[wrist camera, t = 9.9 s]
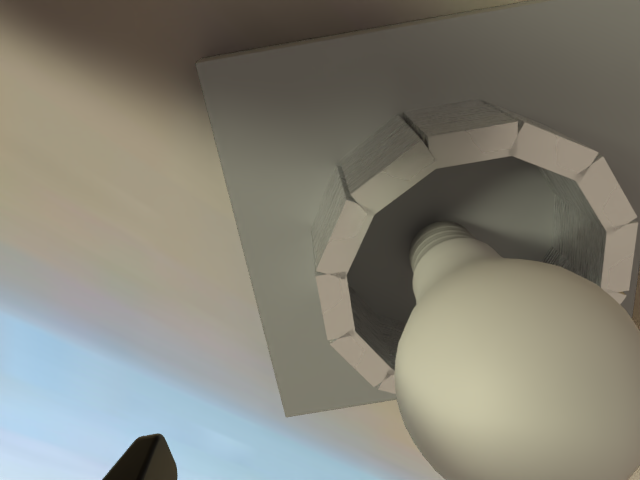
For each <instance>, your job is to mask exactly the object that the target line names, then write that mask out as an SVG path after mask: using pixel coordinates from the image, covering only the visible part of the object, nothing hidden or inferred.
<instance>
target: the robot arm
mask: <svg viewBox="0 0 640 480" xmlns="http://www.w3.org/2000/svg"><path fill="white" fill-rule="evenodd" d="M102 480H177V467H176V463H175V461H174V459H173V456H172V454H171V452H170V449H169V447H168V445H167V442H166V440H165V438H164V436H163V435H161V434H152V435H147V436H141V437H139V438H137V439H136V440H135V441H134V442H133V443H132V445H131V446H130V447H129V448H128V449H127V451H126V452H125V453H124V454H123V455H122V457H121V458H120V459H119V460H118V461H117V463H116V464H115V465H114V466H113V467H112V469H111V470H110V471H109V472H108V473H107V475H106V476H105V477H104V478H103V479H102Z"/></svg>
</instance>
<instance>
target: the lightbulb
mask: <svg viewBox="0 0 640 480" xmlns="http://www.w3.org/2000/svg"><path fill="white" fill-rule="evenodd" d="M409 259H410V264H411V268H412V271H413V274H414V275H413V291H414V295H415V298H416V306H415V307H414V309H413V310H412V312H411V315H410V317H409V319H408V321H407V324H406V326H405V328H404V331H403V333H402V336H401V338H400V340H399V343H398V348H397V354H396V360H395V377H394V378H395V391H396V398H397V402H398V406H399V409H400V413H401V415H402V418H403V421H404V424H405V427H406V429H407V430H408V432H409V434H410V436H411V438H412V440H413V441H414V443H415V445H416V446H417V447H418V449H419V450H420V452H421V453H422V455H423V456H424V457H425V459H426V460H427V461H428V462H429V463H430V465H431V466H432V467H433V468H434V470H435V471H436V472H438V473H439V474H440V475H441V476H442V477H443V478H444V479H446V480H628V479H629V478H630V477H631V476H632V474H633V473H634V472H635V471H636V470H637V468H638V467H639V466H640V330H639V329H638V327H637V326H636V324H635V323H634V321H633V320H632V318H631V317H630V316H629V314H628V313H627V311H626V310H625V309H624V308H623V307H622V306H621V305H620V304H619V303H618V302H617V301H616V300H615V299H614V298H612V297H611V296H610V295H609V294H608V293H606V292H605V291H604V290H603V289H602V288H600V287H599V286H598V285H597V284H595V283H593V282H591V281H589V280H587V279H585V278H583V277H581V276H579V275H577V274H575V273H573V272H571V271H569V270H567V269H564V268H562V267H560V266H556V265H552V264H548V263H544V262H539V261H532V260H524V259H510V258H503V257H501V256H500V255H499V254H498V253H497V252H496V251H495V250H494V249H493V248H491V247H490V246H489V245H488V244H486V243H483V242H481V241H479V240H477V239H476V238H475V237H474V236H473V235H472V234H471V233H470V232H469V231H468V230H467V229H466V228H464V227H463V226H462V225H460V224H458V223H455V222H451V221H440V222H435V223H432V224H430V225H428V226H426V227H424V228H423V229H422V230H420V231H419V232H418V233H417V234H416V236H415V237H414V239H413V240H412V242H411V245H410V248H409Z"/></svg>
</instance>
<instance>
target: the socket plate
mask: <svg viewBox="0 0 640 480" xmlns="http://www.w3.org/2000/svg"><path fill="white" fill-rule="evenodd" d="M195 65H196V69H197V73H198V76H199V80H200V84H201V88H202V92H203V96H204V100H205V104H206V108H207V112H208V115H209V119H210V123H211V127H212V131H213V135H214V139H215V143H216V147H217V151H218V154H219V158H220V162H221V166H222V170H223V174H224V178H225V182H226V186H227V190H228V193H229V197H230V201H231V205H232V209H233V213H234V217H235V221H236V225H237V229H238V232H239V236H240V240H241V244H242V248H243V252H244V256H245V260H246V264H247V268H248V271H249V275H250V279H251V283H252V287H253V291H254V295H255V299H256V303H257V306H258V310H259V314H260V318H261V322H262V326H263V330H264V334H265V338H266V342H267V345H268V349H269V353H270V357H271V361H272V365H273V369H274V373H275V377H276V381H277V384H278V388H279V392H280V396H281V400H282V404H283V408H284V412H285V416H286V417H291V416H297V415H304V414H310V413H316V412H322V411H328V410H334V409H341V408H347V407H353V406H359V405H365V404H372V403H378V402H384V401H390V400H396V399H397V398H396V394H393V393H389V392H386V391H382V390H378V387H377V385H376V386H375V387H373V386H372V385H371V384H370V383H369V382H368V381H367V380H366V379H365V378H364V377H363V376H362V375H361V374H360V373H359V372H358V371H357V370H356V369H355V368H353V367H352V366H351V365H350V364H349V363H348V362H347V361H346V360H345V359H344V358H343V357H342V356H341V355H340V354H339V353H338V352H337V351H336V350H335V349H334V348H333V347H332V346H331V345H330V342H329V340H327V335H326V330H325V325H324V319H323V314H322V309H321V303H320V298H319V293H318V288H317V282H316V277H315V267H314V257H313V247H312V236H311V231H312V224H313V221H314V219H315V216H316V214H317V211H318V209H319V206H320V204H321V202H322V199H323V197H324V194H325V192H326V189H327V187H328V184H329V182H330V179H331V177H332V175H333V172H334V170H335V167H336V165H338V166H341V162H340V160H341V159H342V158H343V157H345V156H346V155H347V154H348V153H350V152H351V151H352V150H354V149H355V148H356V147H357V146H359V145H360V144H361V143H362V142H364V141H365V140H366V139H367V138H369V137H370V136H371V135H372V134H374V133H375V132H376V131H377V130H379V129H380V128H381V127H382V126H384V125H385V124H386V123H388V122H389V121H390V120H391V119H393V118H394V117H395V116H396V115H399V116H400V117H401V118H402V119H403V120H404V114H403V112H405V111H411V110H417V109H422V108H428V107H434V106H440V105H446V104H451V103H457V102H463V101H469V100H475V99H478V100H479V101H481V102H482V100H484V101H487V102H489V103H492V104H494V105H497V106H499V107H502V108H504V109H506V110H509V111H511V112H514V113H516V114H519V115H521V116H523V117H526V118H528V119H531V120H533V121H536V122H538V123H541V124H543V125H545V126H547V127H549V128H551V129H553V130H555V131H557V132H559V133H561V134H563V135H565V136H567V137H569V138H571V139H573V140H575V141H577V142H579V143H581V144H583V145H585V146H587V147H589V148H591V149H593V150H595V151H597V152H599V153H598V154H600V155H602V156H603V157H604V159H605V160H606V162H607V164H608V166H609V167H610V169H611V171H612V173H613V175H614V176H615V178H616V180H617V182H618V183H619V185H620V187H621V189H622V191H623V192H624V194H625V196H626V198H627V199H628V201H629V203H630V205H631V207H632V208H633V210H634V212H635V214H636V215H637V218H635V219H634V220H635V221H637V222H638V228H637V235H636V243H635V250H634V258H633V265H632V272H631V280H630V287H629V291H623V293H624V294H626V295H627V296H626V297H625V299H624V300H623V301H622V303H621V304H620V305H621V306H622V307H623V308H624V309H625V310H626V311H627V313H628V314H629V316H630V317H631V318H632V315H633V308H634V301H635V294H636V287H637V280H638V273H639V266H640V0H530V1H525V2H519V3H513V4H508V5H502V6H496V7H491V8H485V9H479V10H474V11H468V12H462V13H457V14H451V15H445V16H439V17H434V18H428V19H422V20H417V21H411V22H405V23H400V24H394V25H388V26H383V27H377V28H371V29H366V30H360V31H354V32H348V33H343V34H337V35H331V36H326V37H320V38H314V39H309V40H303V41H297V42H292V43H286V44H280V45H275V46H269V47H263V48H257V49H252V50H246V51H240V52H235V53H229V54H223V55H218V56H212V57H206V58H202V59H200V60H199V61H198V62H196V63H195ZM341 167H342V166H341ZM554 201H555V193H554V191H553V190H552V188H551V187H550V185H549V184H548V182H547V180H546V179H545V177H544V176H543V174H542V172H541V171H540V169H539V168H538V166H537V165H534V164H532V163H529V162H526V161H524V160H521V159H519V158H516V157H514V156H508V157H502V158H496V159H491V160H485V161H479V162H473V163H467V164H461V165H455V166H449V167H444V168H438V169H435V170H434V171H432V172H431V173H430V174H428V175H427V176H426V177H424V178H423V179H421V180H420V181H419V182H417V183H416V184H415V185H413V186H412V187H411V188H409V189H408V190H407V191H405V192H404V193H403V194H401V195H400V196H399V197H397V198H396V199H395V200H393V201H392V202H391V203H389V204H388V205H387V206H385V207H384V208H383V209H381V210H380V211H379V212H377V213H376V214H375V215H374V217H373V219H372V221H371V223H370V225H369V227H368V230H367V232H366V234H365V236H364V238H363V241H362V243H361V245H360V247H359V249H358V251H357V254H356V256H355V258H354V260H353V262H352V264H351V267H350V269H349V271H348V273H347V275H346V276H347V282H348V284H349V285H350V286H351V287H352V288H353V289H354V290H355V291H356V292H357V294H358V295H359V296H360V297H361V298H362V299H363V300H364V301H365V302H366V303H367V304H368V305H369V306H370V307H371V309H372V310H373V311H374V312H375V313H376V314H377V315H379V316H382V317H386V318H389V319H392V320H396V321H399V322H403V323H406V324H407V321H408V319H409V317H410V315H411V312H412V310H413V309H414V307H415V306H416V298H415V295H414V291H413V275H414V274H413V271H412V268H411V264H410V259H409V248H410V245H411V242H412V240H413V239H414V237H415V236H416V234H417V233H418V232H419V231H420V230H422V229H423V228H424V227H426V226H428V225H430V224H432V223H435V222H440V221H451V222H455V223H458V224H460V225H462V226H463V227H464V228H466V229H467V230H468V231H469V232H470V233H471V234H472V235H473V236H474V237H475V238H476V239H477V240H479V241H481V242H483V243H486V244H488V245H489V246H490V247H491V248H493V249H494V250H495V251H496V252H497V253H498V254H499V255H500V256H501V257H503V258H510V259H524V260H532V261H539V262H542V261H543V259H544V258H545V256H546V255H547V253H548V251H549V250H550V248H551V247H552V239H553V220H554Z"/></svg>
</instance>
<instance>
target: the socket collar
mask: <svg viewBox="0 0 640 480" xmlns="http://www.w3.org/2000/svg"><path fill="white" fill-rule="evenodd" d="M403 114H404V120H403V119H402V118H401V117H400V116H399V115H396V116H395V117H394V118H393V119H391V120H390V121H389V122H388V123H386V124H385V125H384V126H382V127H381V128H380V129H379V130H377V131H376V132H375V133H374V134H372V135H371V136H370V137H369V138H367V139H366V140H365V141H364V142H362V143H361V144H360V145H359V146H357V147H356V148H355V149H354V150H352V151H351V152H350V153H348V154H347V155H346V156H345V157H343V158H342V159H341V160H340V162H341V166H342V167H341V166H338V165H336V167H335V170H334V172H333V175H332V177H331V179H330V182H329V184H328V187H327V189H326V192H325V194H324V197H323V199H322V202H321V204H320V206H319V209H318V211H317V214H316V216H315V219H314V221H313V224H312V231H311V236H312V247H313V257H314V267H315V277H316V282H317V288H318V293H319V298H320V303H321V309H322V314H323V319H324V325H325V330H326V335H327V340H329V342H330V345H331V346H332V347H333V348H334V349H335V350H336V351H337V352H338V353H339V354H340V355H341V356H342V357H343V358H344V359H345V360H346V361H347V362H348V363H349V364H350V365H351V366H352V367H353V368H355V369H356V370H357V371H358V372H359V373H360V374H361V375H362V376H363V377H364V378H365V379H366V380H367V381H368V382H369V383H370V384H371V385H372V386H373V387H375V386H376V385H377V387H378V390H382V391H386V392H389V393H393V394H396V391H395V378H394V377H395V360H396V354H397V348H398V343H399V340H400V338H401V336H402V333H403V331H404V328H405V326H406V323H403V322H399V321H396V320H392V319H389V318H386V317H382V316H379V315H377V314H376V313H375V312H374V311H373V310H372V309H371V307H370V306H369V305H368V304H367V303H366V302H365V301H364V300H363V299H362V298H361V297H360V296H359V295H358V294H357V292H356V291H355V290H354V289H353V288H352V287H351V286H350V285H349V284H348V282H347V276H346V275H347V273H348V271H349V269H350V267H351V264H352V262H353V260H354V258H355V256H356V254H357V251H358V249H359V247H360V245H361V243H362V241H363V238H364V236H365V234H366V232H367V230H368V227H369V225H370V223H371V221H372V219H373V217H374V215H375V214H376V213H377V212H379V211H380V210H381V209H383V208H384V207H385V206H387V205H388V204H389V203H391V202H392V201H393V200H395V199H396V198H397V197H399V196H400V195H401V194H403V193H404V192H405V191H407V190H408V189H409V188H411V187H412V186H413V185H415V184H416V183H417V182H419V181H420V180H421V179H423V178H424V177H426V176H427V175H428V174H430V173H431V172H432V171H434V170H435V169H438V168H444V167H449V166H455V165H461V164H467V163H473V162H479V161H485V160H491V159H496V158H502V157H508V156H514V157H516V158H519V159H521V160H524V161H526V162H529V163H532V164H534V165H537V166H538V168H539V169H540V171H541V172H542V174H543V176H544V177H545V179H546V180H547V182H548V184H549V185H550V187H551V188H552V190H553V191H554V193H555V201H554V220H553V239H552V247H551V248H550V250H549V251H548V253H547V255H546V256H545V258H544V259H543V261H542V262H544V263H548V264H552V265H556V266H560V267H562V268H564V269H567V270H569V271H571V272H573V273H575V274H577V275H579V276H581V277H583V278H585V279H587V280H589V281H591V282H593V283H595V284H597V285H598V286H599V287H600V288H602V289H603V290H604V291H605V292H606V293H608V294H609V295H610V296H611V297H612V298H614V299H615V300H616V301H617V302H618V303H619V304H621V303H622V301H623V300H624V299H625V297H626V296H627V295H626V294H624V293H623V291H629V287H630V280H631V272H632V265H633V258H634V250H635V243H636V235H637V228H638V222H637V221H635V220H634V219H635V218H637V215H636V214H635V212H634V210H633V208H632V207H631V205H630V203H629V201H628V199H627V198H626V196H625V194H624V192H623V191H622V189H621V187H620V185H619V183H618V182H617V180H616V178H615V176H614V175H613V173H612V171H611V169H610V167H609V166H608V164H607V162H606V160H605V159H604V157H603V156H602V155H600V154H598V153H599V152H597V151H595V150H593V149H591V148H589V147H587V146H585V145H583V144H581V143H579V142H577V141H575V140H573V139H571V138H569V137H567V136H565V135H563V134H561V133H559V132H557V131H555V130H553V129H551V128H549V127H547V126H545V125H543V124H541V123H538V122H536V121H533V120H531V119H528V118H526V117H523V116H521V115H519V114H516V113H514V112H511V111H509V110H506V109H504V108H502V107H499V106H497V105H494V104H492V103H489V102H487V101H484V100H482V102H481V101H479V100H478V99H475V100H469V101H463V102H457V103H451V104H446V105H440V106H434V107H428V108H422V109H417V110H411V111H405V112H403Z"/></svg>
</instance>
